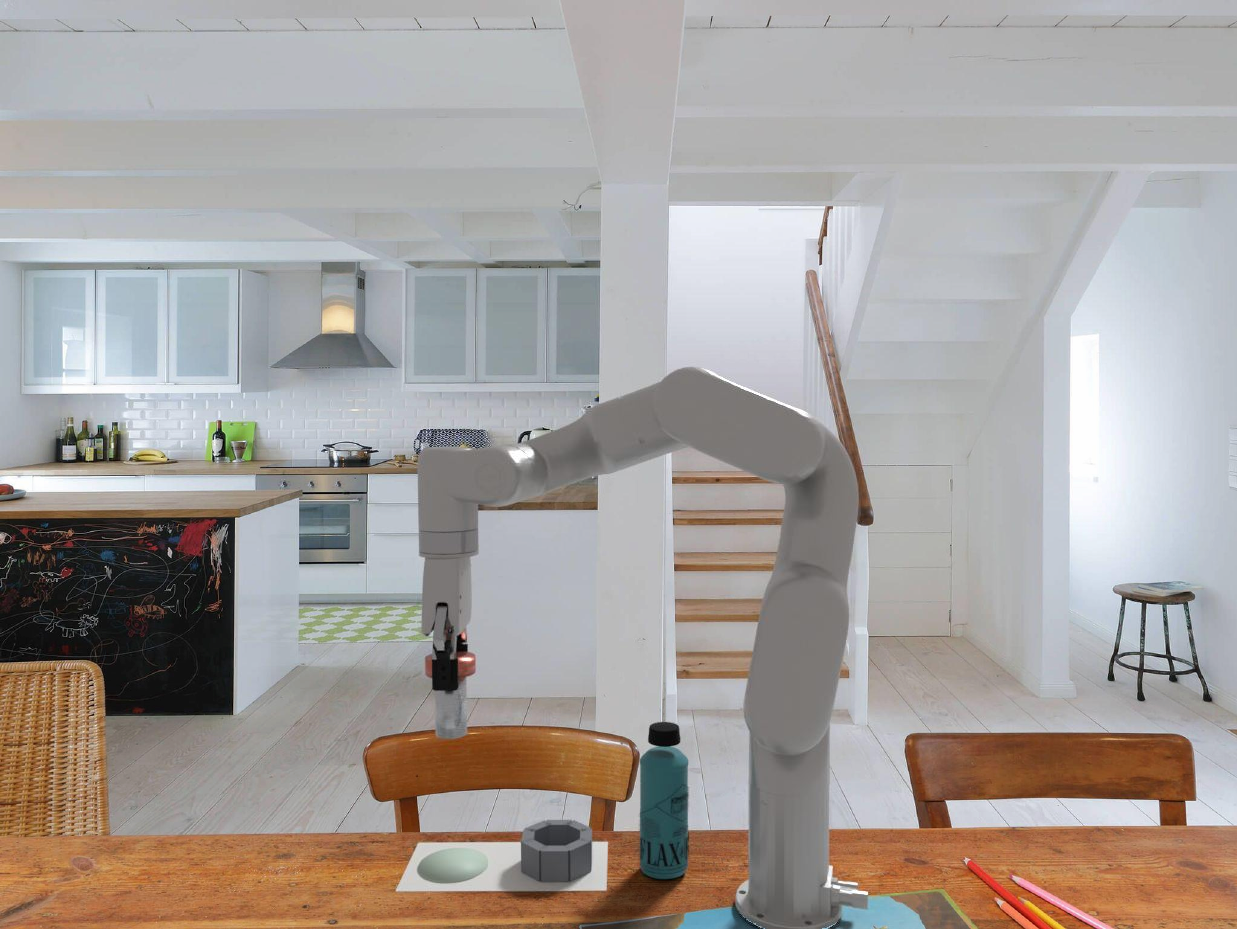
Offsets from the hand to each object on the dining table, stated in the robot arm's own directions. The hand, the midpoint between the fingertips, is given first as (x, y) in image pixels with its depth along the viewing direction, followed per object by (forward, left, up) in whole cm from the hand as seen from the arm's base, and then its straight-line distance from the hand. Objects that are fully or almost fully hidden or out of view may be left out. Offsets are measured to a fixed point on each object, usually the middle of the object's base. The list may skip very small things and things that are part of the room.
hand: (450, 680), depth 118 cm
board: (-7, -2, -25) cm, 26 cm away
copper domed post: (0, 0, -7) cm, 7 cm away
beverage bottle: (-27, -6, -26) cm, 37 cm away
